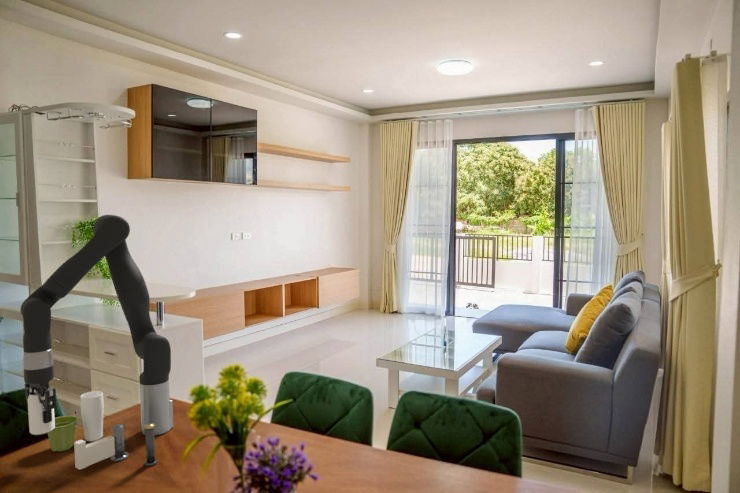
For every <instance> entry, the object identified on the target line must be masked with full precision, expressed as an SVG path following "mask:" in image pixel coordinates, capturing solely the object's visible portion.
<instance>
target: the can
mask: <svg viewBox="0 0 740 493" xmlns="http://www.w3.org/2000/svg"><path fill="white" fill-rule="evenodd" d="M39 395H40V394H39ZM40 397H41V396H40ZM41 400H45V396H43V397H41ZM51 402H52V401H51ZM44 405H45V403H44ZM51 410H52V421H51V422H48V423H43V414H42V407H41V404H39V400H38V396H37V395H35V394H34V393H32V394H31V393H29V397H28V403H27V413H28V428H29V433H30V434H31V435H34V436H40V435H45V434H48V433H49V432H51V431H52V430H54V428H55V418H56V417H55V408H53V409H51Z"/></svg>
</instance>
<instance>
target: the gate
mask: <svg viewBox="0 0 740 493" xmlns="http://www.w3.org/2000/svg"><path fill="white" fill-rule="evenodd" d="M73 448H74V464H75V469H77V470H79V471H80V470H83V469H86V468H88V467H89V466H91V465H93V464H96V463H99V462H101V461H103V460H106V459H108V458H111V456H113V455H115V444H114V437H113V435H108V436H105V437H102V438H101V439H99V440H96V441H91V442H89V443H87V441H86V440H85V439H84V440H83V439H78V440H76V441H74V445H73Z"/></svg>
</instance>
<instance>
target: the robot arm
mask: <svg viewBox="0 0 740 493" xmlns="http://www.w3.org/2000/svg"><path fill="white" fill-rule="evenodd" d="M92 230H93V235H92V237H91V238H90V240H89V241H88V242H87V243H86V244H85V245H84V246H83V247H82V248H81V249H79V251H77V252H76V253H75V254H73V255H72V256H71V257H69V258H68V259H67V260H65V261H64V262H63V263H62V264H61V265H60V266H58V268H57V269H56V270H55V271H54V272H53V273H52V274H51V275H50V276H49V277H48V278H47V279H46V280H45V282H44V283H43V284H42V285H40V286H39V287H38V288H37V289H36V290H34V291H33V292H32V293H31V294H30V295H29V296H28V297H27V298H26V299H25V300H24V301H23V302H22V303H21V305H20V310H19V311H20V314H21V315H22V320H23V329H24V330H23V332H24V333H23V336H22V337H23V338H22V345H23V357H22V364H23V365H22V367H23V382H24V393H25V401H26V403H27V404H28V397H29V393H31V394H32V393H34V394H35V395H37V396H38V400H39V404H41V407H42V414H43V423H48V422H51V421H52V410H51V409H53V408H54V409H56V407H57V406H56V405H57V403H56V402H57V401H56V400H57V394H56V390H57V389H56V388H55V387H53V388H51V386H50V381H52V380H54V378H55V366H54V354H53V353H54V352H53V348H52V334H51V326H52V310H51V309H52V307H53V306H55V305H56V304H57V302H58V301H60V300H61V299H63V298H65V297H66V296H67V295H68V294H70V292H71V291H72V290H73V289H75V287H76V286H77V284H78V283H80V282H81V281H82V279H84V278H85V276H86V275H87V274H88V273H89V272H90V271H91V270H92V269H93V268H94V267H95V265H97V264H98V263H99V262H100V261H101V260H102V259H103V258H104V257H105V260H106V263H107V267H108V271H109V274H110V277H111V280H112V284H113V288H114V291H115V293H116V296H117V300H118V301H119V304H120V307H121V309H122V311H123V315H124V317H125V320H126V321H127V325H128V327H129V331H130V336H131V340H132V346H133V349H134V352H135V354H136V355H137V357H139V359H142V360H143V370H142V371H143V372H141V373H140V374H139V378H138V379H139V381H138V382H139V400H140V418H141V419H140V422H141V423H140V424H141V425H140V426H141V434H142V435H144V436H145V429H144V425H145V424H148V423H154V424H155V427H154V436H158V435H159V436H160V435H162V434H165V433H167V432H169V431H170V430H171V429H172V428H174V413H173V412H174V411H173V410H174V408H173V406H174V404H173V400H172V399H170V398H171V397H170V372H171V366H172V352H171V350H172V348H171V344H170V341H169V340H168V339H167V338H166V337H164V336H162V335H160V334H158V333H157V332H156V330H155V327H154V325H153V323H152V322H153V321H152V320H151V316H150V305H151V304H150V300H151V299H150V293H149V290H148V286H147V284H146V283H147V282H146V281H145V279H144V276H143V274H142V272H141V270H140V268H139V266H138V265H137V264H136V262H135V261H134V259H133V257H132V255H131V252H130V251H129V248H128V244H127V241H126V240H127V238H128V237H129V235H130V231H131V228H130V223H129V222H128V221H127V219H125V218H124V217H122V216H119V215H116V214H104V215H101V216H99V217H98V218H97V219H96V220H95V222H94V224H93V229H92ZM39 394H40V395H39ZM40 396H41V397H43V396H45V400H41V397H40ZM51 401H52V402H51ZM44 403H45V405H44Z"/></svg>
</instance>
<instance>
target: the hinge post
mask: <svg viewBox="0 0 740 493" xmlns="http://www.w3.org/2000/svg"><path fill="white" fill-rule="evenodd" d="M124 427H125V425H124V423H117V424H113V426H112V436H113V437H114V444H115V455H113V456H111V457H110V461H111V462H113V463H115V462H122V461H125V460H126V459H128V458H129V455H130V454H129V452H127V451H126V447H125V446H126V445H125V443H126V442H125V428H124Z"/></svg>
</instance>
